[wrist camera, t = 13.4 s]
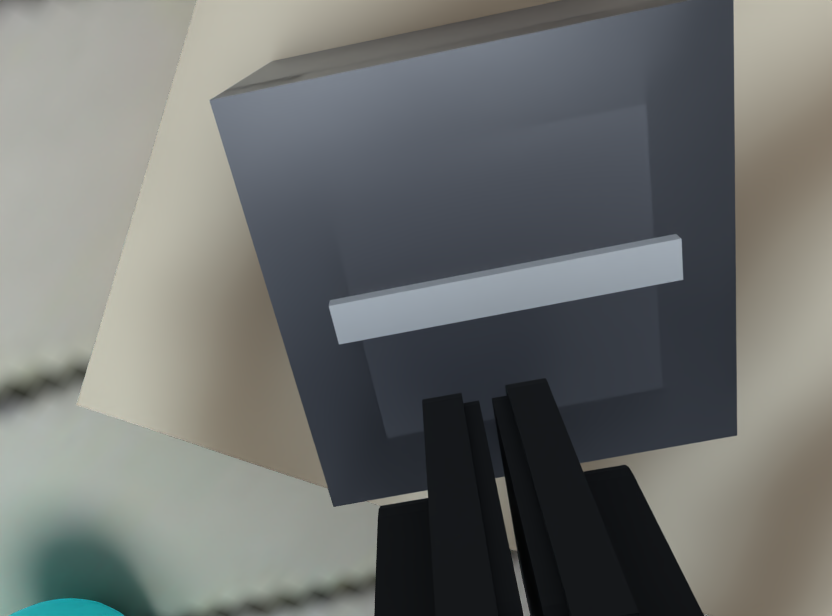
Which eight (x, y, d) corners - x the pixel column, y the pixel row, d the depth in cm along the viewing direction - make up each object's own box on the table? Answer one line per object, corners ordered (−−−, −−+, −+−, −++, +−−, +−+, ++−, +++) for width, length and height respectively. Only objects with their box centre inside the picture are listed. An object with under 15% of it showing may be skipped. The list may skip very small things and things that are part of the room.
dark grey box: (614, -11, 13) (741, -10, 8) (636, 304, 16) (742, 442, 11) (272, 61, 13) (205, 102, 9) (350, 357, 16) (333, 515, 11)
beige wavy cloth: (1317, 169, 16) (1401, 186, 15) (871, 636, 22) (902, 679, 21) (340, -411, 12) (334, -463, 10) (100, 372, 18) (76, 404, 16)
